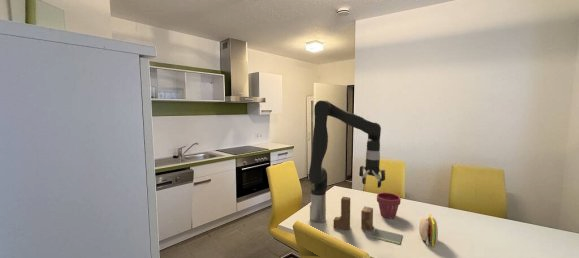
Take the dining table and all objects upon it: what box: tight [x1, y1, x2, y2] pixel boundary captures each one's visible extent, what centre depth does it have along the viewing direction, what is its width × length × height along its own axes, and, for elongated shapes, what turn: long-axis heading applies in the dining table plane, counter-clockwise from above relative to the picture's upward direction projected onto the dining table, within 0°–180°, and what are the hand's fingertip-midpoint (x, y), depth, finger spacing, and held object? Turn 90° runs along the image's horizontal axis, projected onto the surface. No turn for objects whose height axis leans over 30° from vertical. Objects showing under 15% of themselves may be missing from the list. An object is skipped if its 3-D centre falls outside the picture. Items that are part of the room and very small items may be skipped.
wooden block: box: [333, 196, 351, 231], centre depth 142 cm, size 9×4×18 cm, turn 64°
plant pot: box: [376, 192, 401, 219], centre depth 157 cm, size 14×14×13 cm
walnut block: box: [360, 206, 374, 232], centre depth 141 cm, size 5×7×11 cm
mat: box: [371, 228, 403, 245], centre depth 131 cm, size 14×10×1 cm
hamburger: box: [418, 213, 439, 247], centre depth 127 cm, size 12×8×12 cm
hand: (371, 185), depth 138 cm, fingers open, 8 cm apart
